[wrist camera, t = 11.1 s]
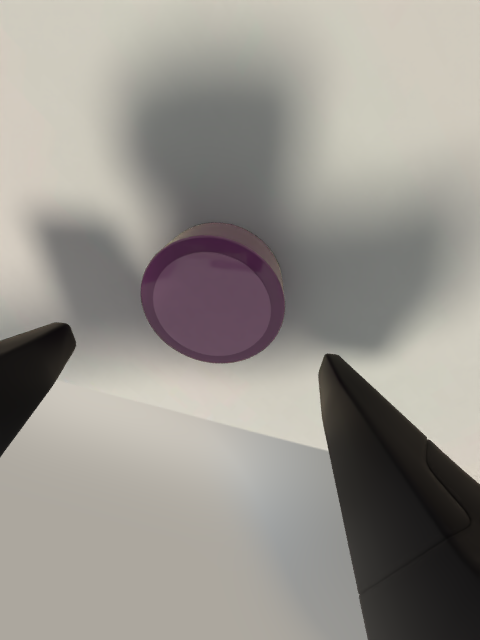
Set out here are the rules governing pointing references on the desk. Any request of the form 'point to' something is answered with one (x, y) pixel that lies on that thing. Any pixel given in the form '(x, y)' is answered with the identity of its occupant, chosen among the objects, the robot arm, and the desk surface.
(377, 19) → the desk surface
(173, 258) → the dish
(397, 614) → the robot arm
